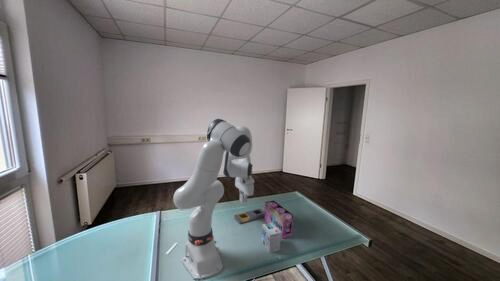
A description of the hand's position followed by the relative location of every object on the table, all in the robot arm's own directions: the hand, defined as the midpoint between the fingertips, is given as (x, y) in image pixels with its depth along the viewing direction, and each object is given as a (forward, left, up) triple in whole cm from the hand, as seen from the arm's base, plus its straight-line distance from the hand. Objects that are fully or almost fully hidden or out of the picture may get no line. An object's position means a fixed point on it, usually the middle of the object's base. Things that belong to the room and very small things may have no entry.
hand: (243, 197), depth 134 cm
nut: (0, 0, -3) cm, 3 cm away
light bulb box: (-31, -1, -17) cm, 36 cm away
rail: (0, -6, -17) cm, 18 cm away
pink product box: (-19, -16, -17) cm, 30 cm away
